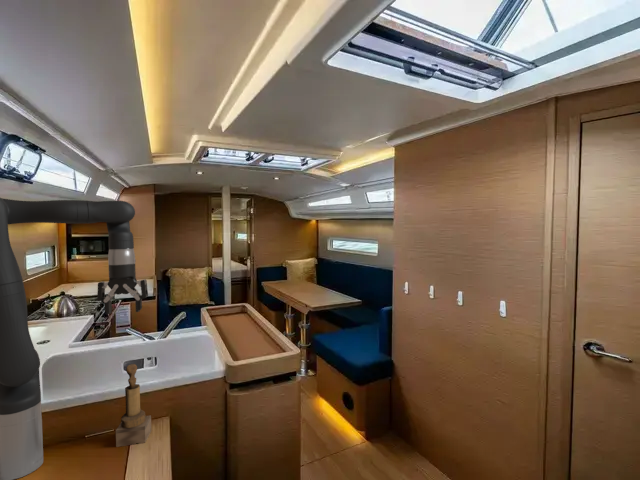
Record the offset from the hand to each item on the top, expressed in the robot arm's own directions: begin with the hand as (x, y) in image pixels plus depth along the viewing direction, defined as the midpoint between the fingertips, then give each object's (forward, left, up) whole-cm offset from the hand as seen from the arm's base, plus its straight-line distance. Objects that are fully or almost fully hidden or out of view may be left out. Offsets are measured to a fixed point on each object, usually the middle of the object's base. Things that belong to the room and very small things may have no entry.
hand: (123, 312), depth 109 cm
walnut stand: (+4, -7, -38) cm, 39 cm away
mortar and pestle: (+4, -7, -33) cm, 34 cm away
